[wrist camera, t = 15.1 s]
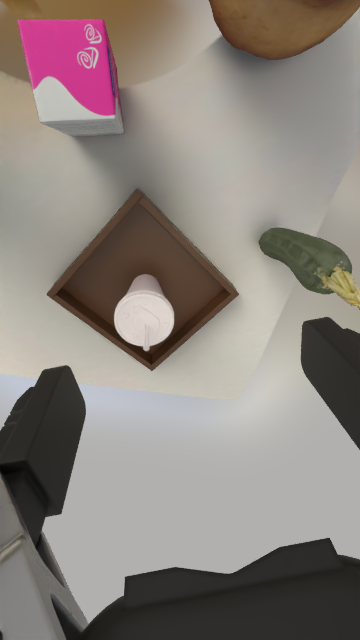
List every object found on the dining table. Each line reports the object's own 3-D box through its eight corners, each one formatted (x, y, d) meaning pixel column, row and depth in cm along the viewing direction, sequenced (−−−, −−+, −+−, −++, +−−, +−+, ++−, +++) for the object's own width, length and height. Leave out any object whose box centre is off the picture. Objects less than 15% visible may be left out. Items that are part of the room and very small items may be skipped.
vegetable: (250, 222, 38) (339, 274, 20) (284, 213, 38) (402, 259, 20) (254, 255, 40) (337, 329, 22) (286, 247, 40) (394, 315, 22)
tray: (53, 284, 39) (46, 294, 36) (138, 187, 35) (136, 190, 32) (151, 358, 46) (152, 371, 43) (233, 285, 42) (239, 294, 39)
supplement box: (126, 134, 32) (116, 122, 22) (70, 136, 32) (34, 125, 22) (119, 65, 29) (103, 15, 19) (58, 67, 29) (10, 17, 19)
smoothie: (135, 315, 42) (128, 380, 29) (112, 276, 39) (94, 329, 26) (177, 297, 41) (188, 356, 29) (157, 256, 38) (160, 301, 26)
